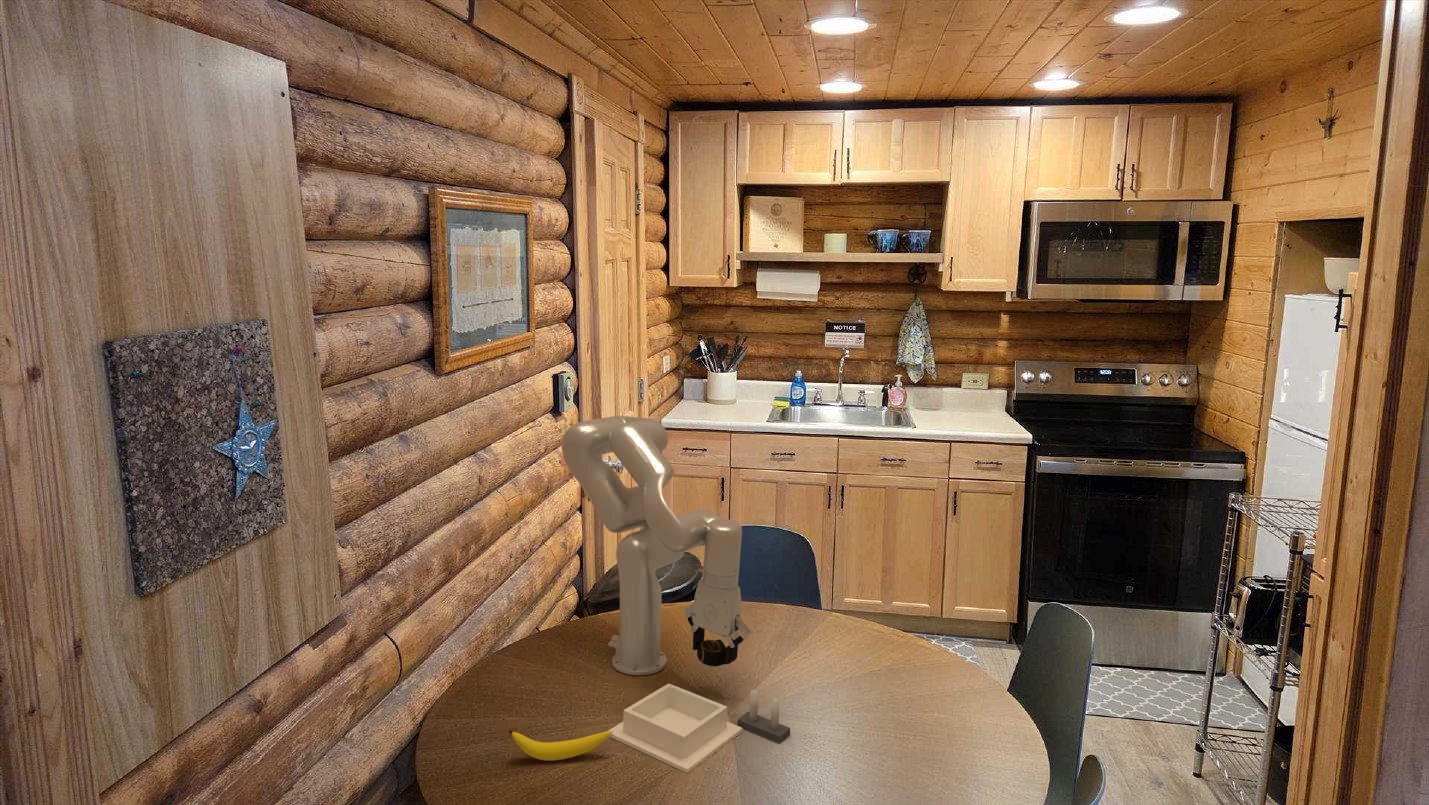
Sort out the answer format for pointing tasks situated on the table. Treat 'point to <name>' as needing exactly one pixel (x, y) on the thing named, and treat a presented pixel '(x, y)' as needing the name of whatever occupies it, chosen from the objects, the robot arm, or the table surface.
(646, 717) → the white square tray
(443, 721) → the table surface
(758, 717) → the peg board plate
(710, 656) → the tape measure
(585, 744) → the banana
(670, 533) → the robot arm
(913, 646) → the table surface
